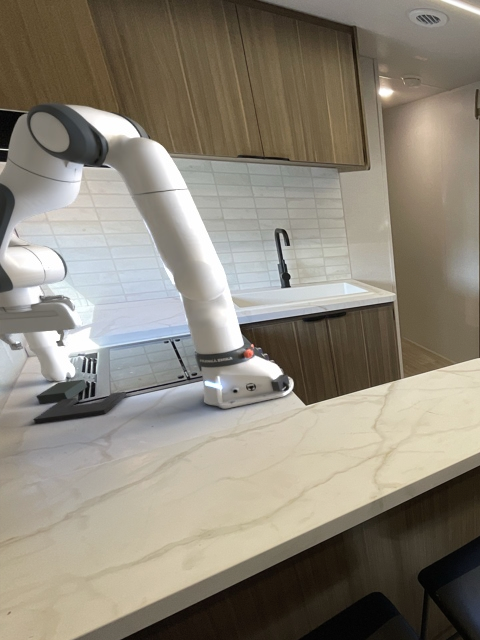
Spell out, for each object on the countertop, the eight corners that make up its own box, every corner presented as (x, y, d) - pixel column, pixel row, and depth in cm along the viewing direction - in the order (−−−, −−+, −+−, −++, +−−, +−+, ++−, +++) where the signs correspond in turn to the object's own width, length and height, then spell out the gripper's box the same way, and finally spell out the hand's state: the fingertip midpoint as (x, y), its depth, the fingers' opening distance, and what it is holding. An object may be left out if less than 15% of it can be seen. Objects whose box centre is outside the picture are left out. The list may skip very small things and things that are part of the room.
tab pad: (87, 386, 121) (84, 379, 120) (68, 400, 112) (64, 392, 111) (61, 389, 119) (58, 382, 118) (40, 403, 110) (36, 396, 109)
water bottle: (57, 383, 123) (19, 303, 113) (39, 382, 124) (0, 302, 114) (84, 375, 129) (50, 297, 120) (66, 373, 131) (31, 297, 121)
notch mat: (126, 395, 115) (125, 391, 114) (105, 413, 104) (103, 409, 104) (63, 403, 110) (62, 399, 110) (35, 423, 100) (33, 419, 99)
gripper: (76, 292, 110) (95, 340, 115) (-26, 297, 103) (-1, 348, 109) (63, 296, 105) (83, 347, 110) (-46, 302, 98) (-19, 355, 103)
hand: (40, 347), depth 109 cm, fingers open, 8 cm apart
